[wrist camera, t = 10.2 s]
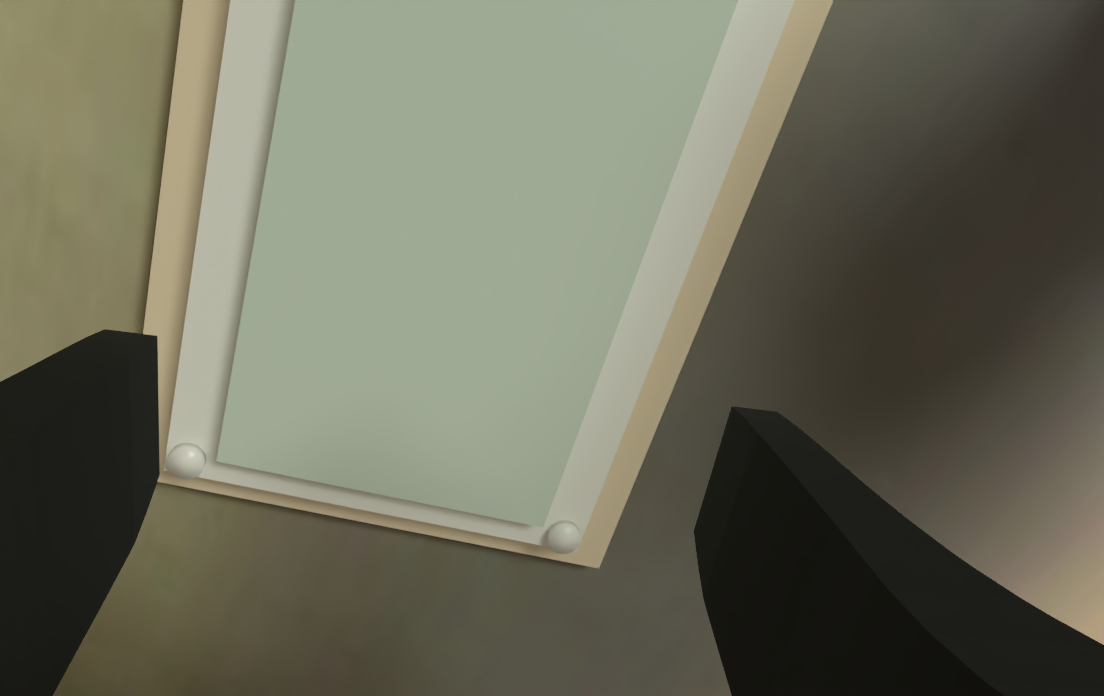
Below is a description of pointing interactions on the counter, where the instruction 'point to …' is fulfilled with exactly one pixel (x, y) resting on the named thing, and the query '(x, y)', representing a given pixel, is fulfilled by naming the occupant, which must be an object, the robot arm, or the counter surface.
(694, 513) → the counter surface
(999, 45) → the counter surface
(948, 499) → the counter surface
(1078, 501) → the counter surface
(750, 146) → the picture frame
